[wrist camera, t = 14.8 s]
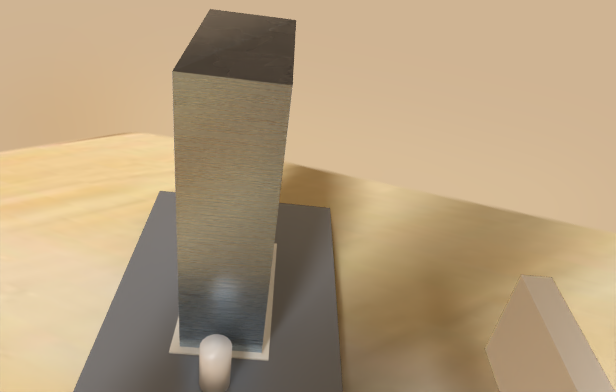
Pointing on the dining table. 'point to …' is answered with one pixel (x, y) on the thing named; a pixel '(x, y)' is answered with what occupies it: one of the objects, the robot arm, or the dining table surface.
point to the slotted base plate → (218, 348)
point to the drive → (230, 172)
